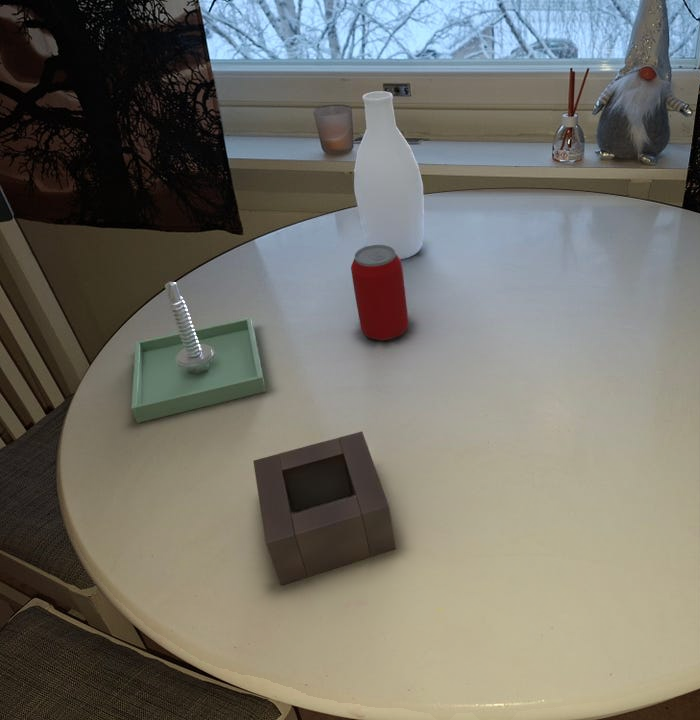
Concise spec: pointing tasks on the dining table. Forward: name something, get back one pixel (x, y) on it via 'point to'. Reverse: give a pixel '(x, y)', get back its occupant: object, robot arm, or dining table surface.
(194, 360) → the screw
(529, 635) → the dining table surface
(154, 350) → the tray
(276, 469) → the holder
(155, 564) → the dining table surface
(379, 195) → the bottle
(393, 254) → the beverage can
